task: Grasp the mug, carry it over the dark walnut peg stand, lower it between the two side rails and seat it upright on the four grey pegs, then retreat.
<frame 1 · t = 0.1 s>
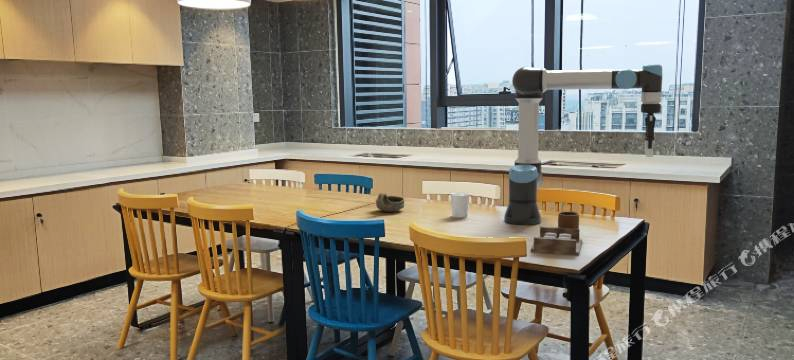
hand: (648, 155, 261), 28 cm above the table, fingers open, 13 cm apart
peg stand: (557, 246, 225), on the table
bowl: (388, 212, 293), on the table
mug: (569, 237, 240), on the table
white cup: (459, 216, 280), on the table
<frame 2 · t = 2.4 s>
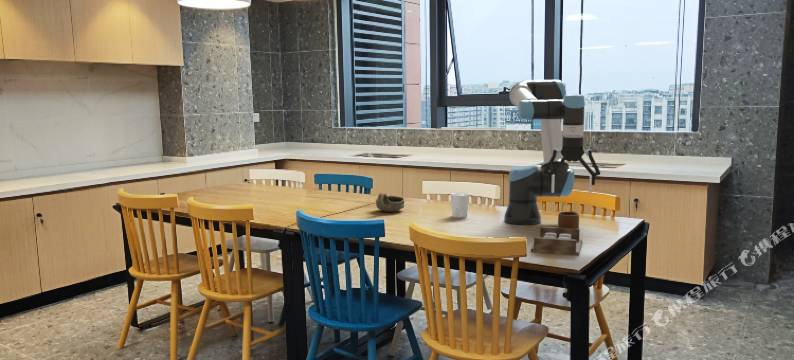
hand: (571, 193, 238), 17 cm above the table, fingers open, 13 cm apart
nothing on the table moved.
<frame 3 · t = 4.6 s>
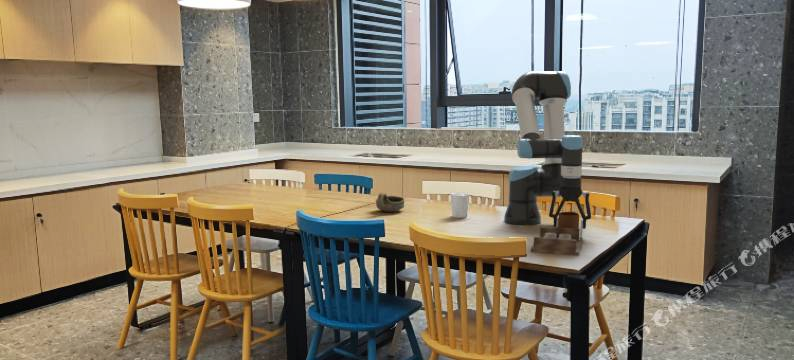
hand: (569, 236, 240), 0 cm above the table, fingers open, 8 cm apart
mug: (569, 237, 240), on the table, touching gripper
everything else where it was.
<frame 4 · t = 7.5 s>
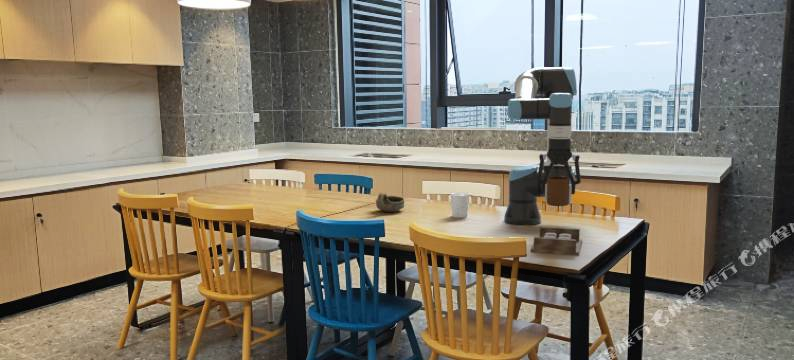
hand: (558, 202, 223), 16 cm above the table, fingers closed on mug, 7 cm apart
mug: (559, 204, 223), point 16 cm above the table, touching gripper
everything else where it was.
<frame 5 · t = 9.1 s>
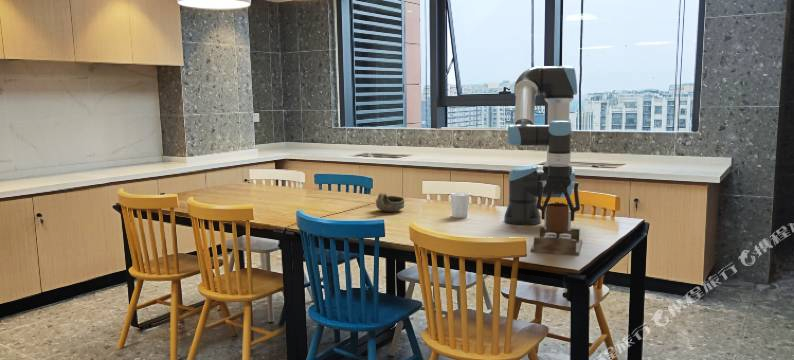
hand: (557, 229, 224), 6 cm above the table, fingers closed on mug, 7 cm apart
mug: (558, 230, 224), point 6 cm above the table, touching gripper
everything else where it was.
when the fingers open (6 cm above the table, at t = 10.1 s): mug drops 1 cm, resting on peg stand.
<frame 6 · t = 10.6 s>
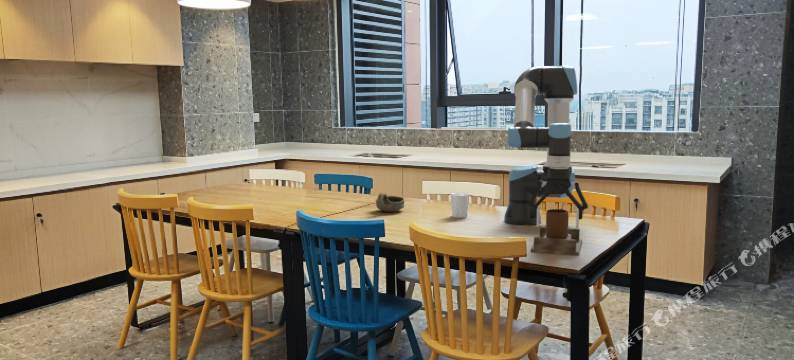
hand: (557, 227, 224), 7 cm above the table, fingers open, 13 cm apart
mug: (558, 236, 225), point 4 cm above the table, touching peg stand
everything else where it was.
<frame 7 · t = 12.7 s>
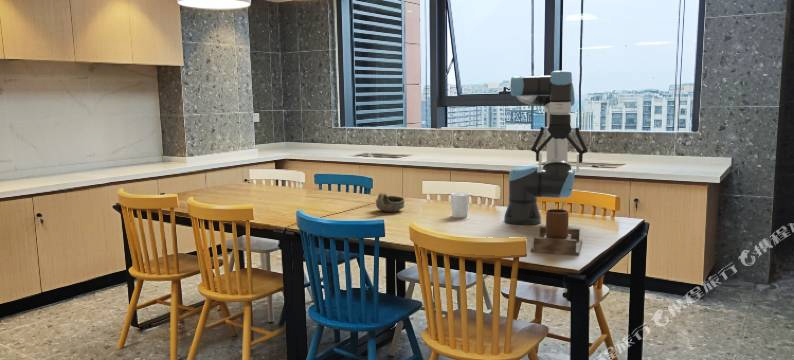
hand: (558, 170, 235), 25 cm above the table, fingers open, 13 cm apart
nothing on the table moved.
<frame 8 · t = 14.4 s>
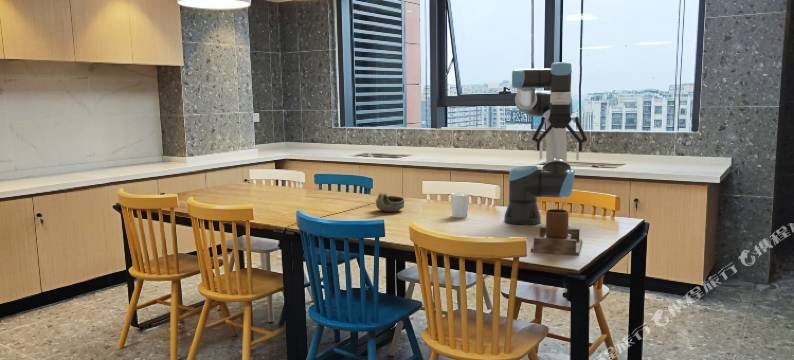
hand: (558, 159, 242), 29 cm above the table, fingers open, 13 cm apart
nothing on the table moved.
at the end: mug inside the target area on the peg stand (0.3 cm from its centre), point 3.8 cm above the peg stand's base; mug tilted 0°; the gripper is holding nothing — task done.
